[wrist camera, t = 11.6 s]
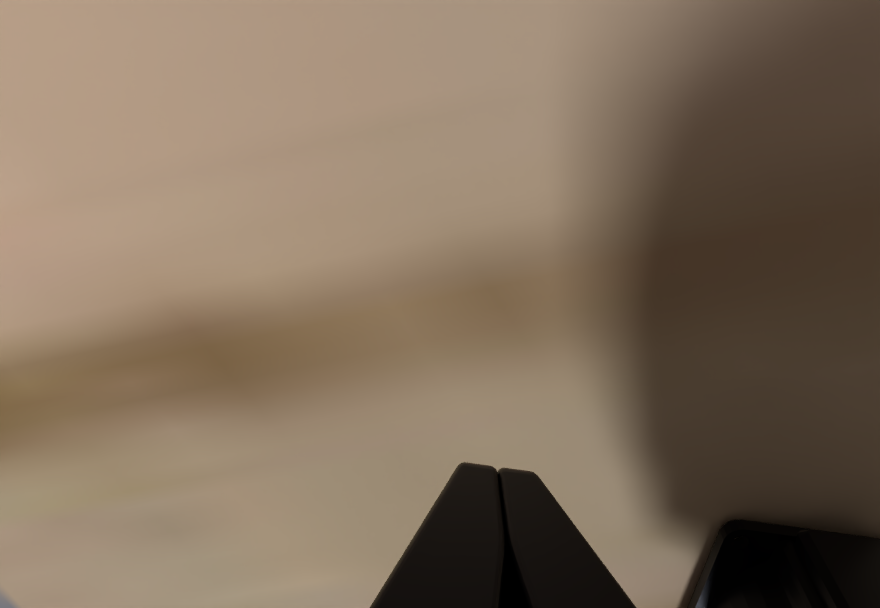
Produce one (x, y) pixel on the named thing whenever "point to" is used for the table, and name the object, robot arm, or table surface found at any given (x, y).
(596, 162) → the table surface
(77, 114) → the table surface
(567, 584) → the robot arm
